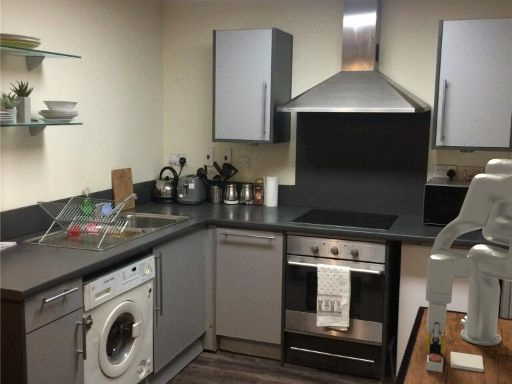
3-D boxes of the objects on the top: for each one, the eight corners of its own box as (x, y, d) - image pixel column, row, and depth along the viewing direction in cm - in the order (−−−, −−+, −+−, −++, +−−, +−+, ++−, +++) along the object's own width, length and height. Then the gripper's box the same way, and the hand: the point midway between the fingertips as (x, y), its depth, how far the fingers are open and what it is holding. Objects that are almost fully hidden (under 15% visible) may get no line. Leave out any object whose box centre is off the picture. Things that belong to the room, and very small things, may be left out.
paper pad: (450, 354, 174) (450, 351, 174) (481, 359, 171) (481, 355, 171) (450, 367, 166) (450, 364, 165) (483, 372, 163) (483, 368, 163)
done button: (430, 358, 166) (430, 352, 166) (440, 359, 166) (440, 354, 165) (429, 362, 164) (430, 356, 164) (439, 363, 163) (440, 358, 163)
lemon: (421, 354, 174) (423, 329, 173) (432, 349, 177) (434, 325, 176) (436, 360, 170) (438, 335, 168) (447, 356, 173) (449, 331, 172)
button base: (426, 363, 168) (427, 355, 167) (442, 365, 166) (443, 357, 166) (426, 369, 164) (426, 361, 163) (442, 372, 162) (442, 363, 162)
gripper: (426, 285, 180) (423, 337, 182) (424, 303, 163) (421, 360, 166) (451, 288, 177) (448, 341, 180) (451, 306, 161) (447, 364, 164)
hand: (435, 350), depth 173 cm, fingers open, 7 cm apart
